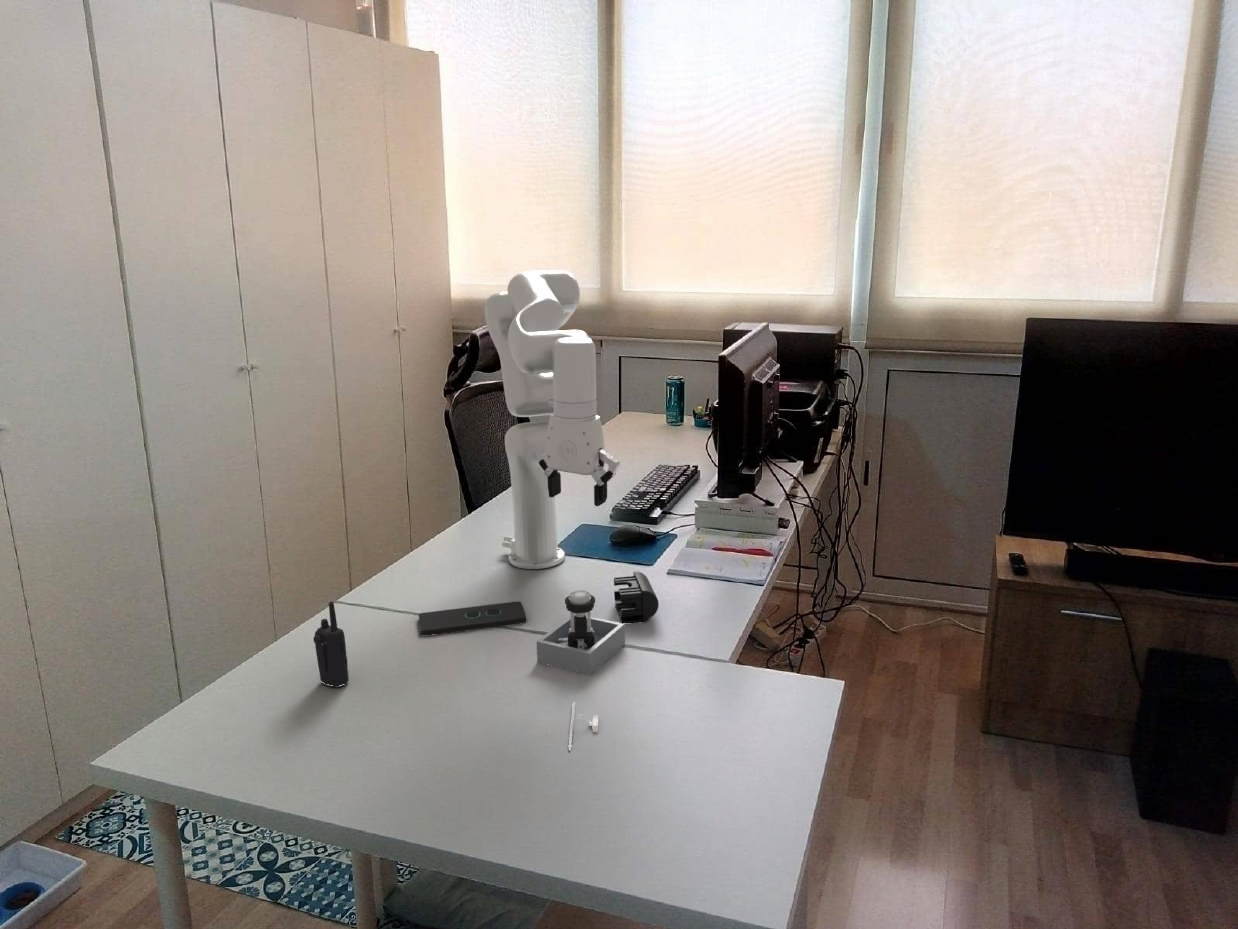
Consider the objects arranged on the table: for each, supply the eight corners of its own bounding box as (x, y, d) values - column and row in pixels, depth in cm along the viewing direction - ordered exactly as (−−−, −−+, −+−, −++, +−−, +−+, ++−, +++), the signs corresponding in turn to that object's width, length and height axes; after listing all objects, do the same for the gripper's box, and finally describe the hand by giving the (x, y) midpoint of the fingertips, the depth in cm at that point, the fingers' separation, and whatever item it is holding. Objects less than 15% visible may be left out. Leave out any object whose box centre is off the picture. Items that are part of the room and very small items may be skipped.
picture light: (571, 704, 143) (571, 692, 142) (598, 703, 143) (598, 692, 142) (567, 754, 129) (566, 742, 129) (597, 754, 129) (597, 742, 129)
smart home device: (526, 617, 170) (419, 630, 165) (527, 625, 171) (420, 639, 166) (520, 599, 178) (418, 612, 173) (521, 607, 178) (418, 620, 174)
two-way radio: (354, 682, 150) (344, 600, 146) (333, 694, 146) (323, 610, 142) (331, 675, 153) (321, 594, 149) (310, 686, 149) (299, 604, 145)
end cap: (659, 622, 170) (658, 589, 168) (622, 626, 169) (621, 593, 167) (649, 601, 179) (648, 569, 177) (614, 604, 178) (613, 572, 176)
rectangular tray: (537, 662, 155) (536, 641, 154) (574, 632, 166) (574, 613, 165) (590, 675, 150) (589, 654, 149) (625, 644, 161) (624, 624, 160)
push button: (558, 654, 156) (555, 601, 153) (560, 640, 161) (557, 588, 158) (596, 653, 156) (594, 600, 153) (596, 639, 161) (595, 587, 158)
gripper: (522, 407, 158) (526, 498, 163) (607, 419, 150) (608, 514, 155) (545, 398, 164) (548, 486, 170) (628, 409, 156) (628, 500, 162)
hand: (577, 499), depth 163 cm, fingers open, 9 cm apart
